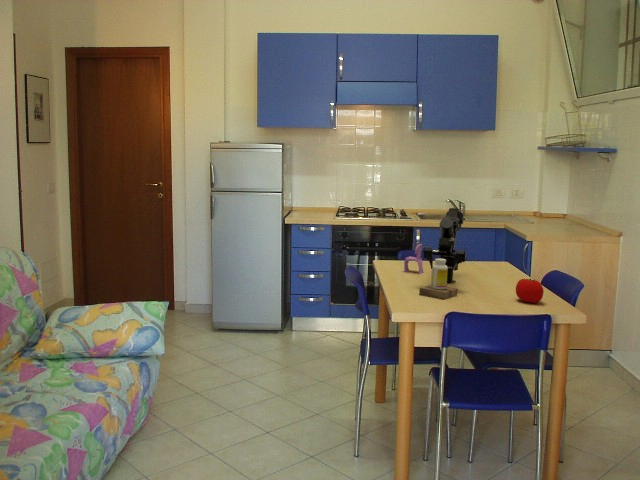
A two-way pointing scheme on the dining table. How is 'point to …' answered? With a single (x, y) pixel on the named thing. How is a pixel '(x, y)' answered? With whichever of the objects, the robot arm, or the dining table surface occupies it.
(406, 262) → the toy chair
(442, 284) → the supplement bottle
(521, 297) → the tomato
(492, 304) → the dining table surface
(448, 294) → the base
